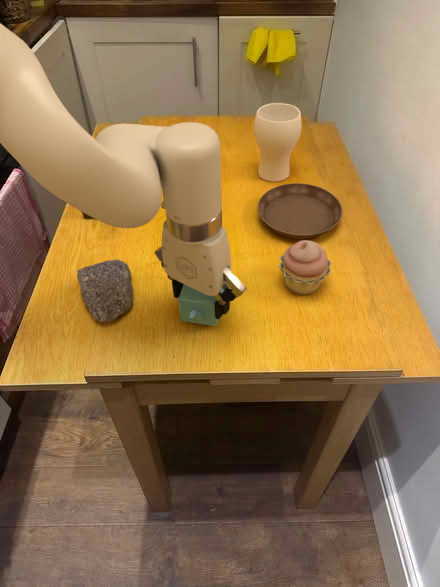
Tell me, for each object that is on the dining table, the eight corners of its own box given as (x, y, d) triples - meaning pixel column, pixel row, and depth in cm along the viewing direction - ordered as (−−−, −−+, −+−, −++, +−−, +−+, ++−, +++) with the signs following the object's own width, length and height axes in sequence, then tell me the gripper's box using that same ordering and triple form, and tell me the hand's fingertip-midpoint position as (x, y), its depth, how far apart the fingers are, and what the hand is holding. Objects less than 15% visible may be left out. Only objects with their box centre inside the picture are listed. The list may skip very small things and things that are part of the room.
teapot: (211, 345, 67) (210, 317, 61) (176, 340, 67) (171, 311, 62) (226, 292, 74) (225, 262, 69) (193, 287, 75) (191, 258, 70)
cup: (292, 160, 104) (299, 100, 93) (298, 184, 97) (307, 122, 85) (250, 162, 104) (252, 102, 93) (254, 186, 97) (256, 124, 85)
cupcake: (285, 259, 80) (291, 218, 72) (332, 273, 77) (343, 232, 69) (268, 292, 74) (272, 251, 67) (318, 308, 71) (328, 267, 64)
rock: (67, 271, 72) (118, 247, 75) (78, 289, 77) (126, 265, 79) (88, 318, 66) (144, 290, 68) (100, 335, 70) (151, 308, 73)
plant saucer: (299, 257, 80) (301, 246, 78) (240, 215, 89) (240, 204, 87) (357, 221, 87) (360, 209, 85) (297, 185, 96) (298, 174, 94)
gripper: (127, 212, 57) (147, 296, 70) (233, 258, 50) (233, 341, 63) (161, 186, 61) (173, 270, 74) (263, 225, 54) (257, 309, 67)
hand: (201, 302), depth 68 cm, fingers closed on teapot, 7 cm apart
